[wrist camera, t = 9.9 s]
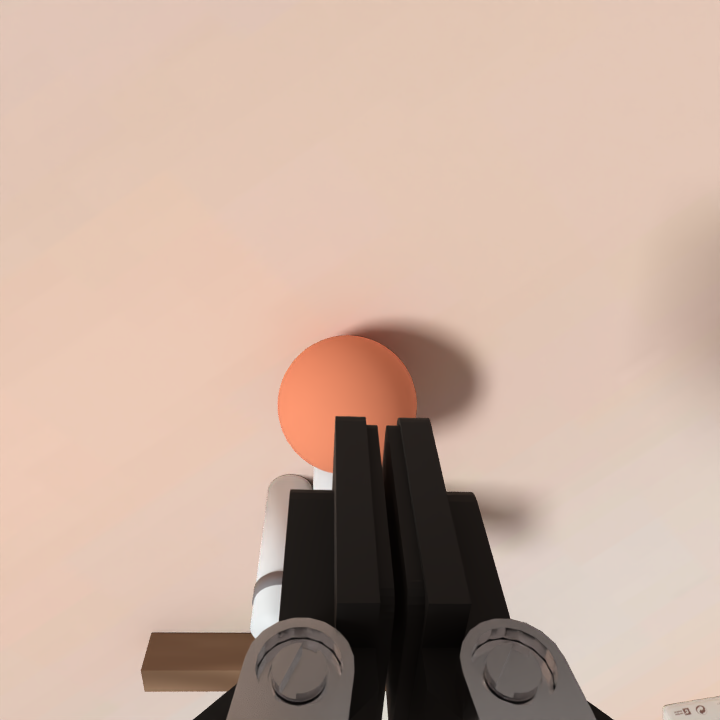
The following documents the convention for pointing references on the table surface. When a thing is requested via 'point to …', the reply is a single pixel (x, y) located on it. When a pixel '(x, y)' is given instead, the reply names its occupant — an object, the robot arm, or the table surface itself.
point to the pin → (273, 553)
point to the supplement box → (694, 710)
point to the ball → (342, 394)
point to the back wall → (194, 661)
